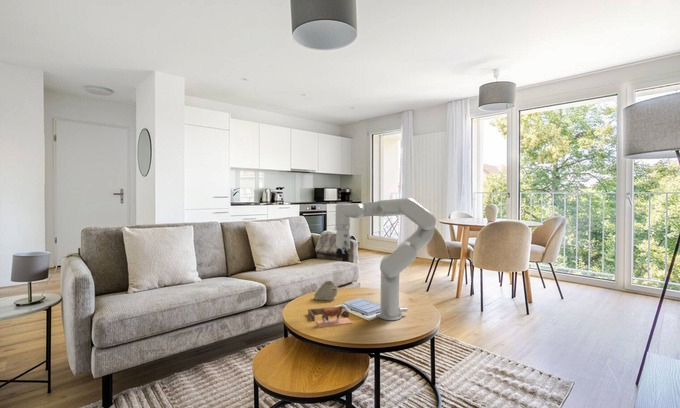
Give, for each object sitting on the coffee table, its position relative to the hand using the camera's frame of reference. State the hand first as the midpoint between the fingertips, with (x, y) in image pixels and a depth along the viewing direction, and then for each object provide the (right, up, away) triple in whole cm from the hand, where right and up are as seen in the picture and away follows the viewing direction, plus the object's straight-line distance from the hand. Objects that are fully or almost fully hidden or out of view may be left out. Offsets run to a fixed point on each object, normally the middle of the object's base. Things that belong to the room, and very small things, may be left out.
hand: (342, 259), depth 170 cm
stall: (-7, -28, -4) cm, 30 cm away
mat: (-4, -29, -13) cm, 32 cm away
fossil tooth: (-9, -28, +23) cm, 38 cm away
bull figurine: (-4, -28, -13) cm, 31 cm away
